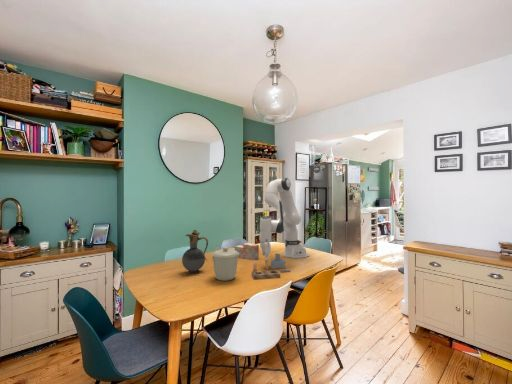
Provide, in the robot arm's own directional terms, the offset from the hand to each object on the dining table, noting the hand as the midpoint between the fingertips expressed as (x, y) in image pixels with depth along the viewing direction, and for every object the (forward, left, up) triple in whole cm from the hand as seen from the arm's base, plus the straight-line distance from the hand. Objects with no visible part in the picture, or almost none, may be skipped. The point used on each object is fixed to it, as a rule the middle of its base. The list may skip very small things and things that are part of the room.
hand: (265, 256), depth 180 cm
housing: (-11, -4, -9) cm, 15 cm away
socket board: (+3, +14, -9) cm, 17 cm away
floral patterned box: (+8, -34, -10) cm, 36 cm away
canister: (+30, +12, -10) cm, 34 cm away
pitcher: (+50, -5, -10) cm, 51 cm away
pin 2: (-1, 0, -9) cm, 9 cm away
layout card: (-13, +7, -9) cm, 18 cm away
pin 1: (+8, +1, -9) cm, 12 cm away
